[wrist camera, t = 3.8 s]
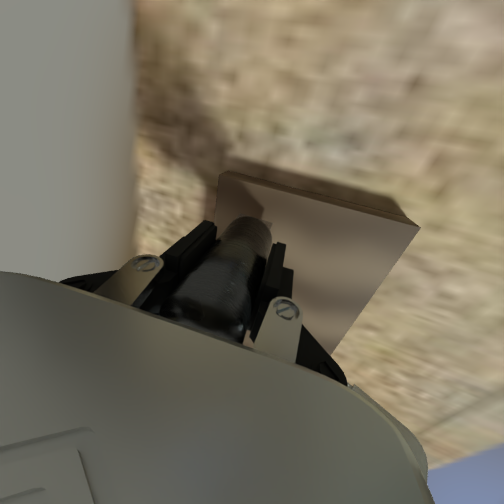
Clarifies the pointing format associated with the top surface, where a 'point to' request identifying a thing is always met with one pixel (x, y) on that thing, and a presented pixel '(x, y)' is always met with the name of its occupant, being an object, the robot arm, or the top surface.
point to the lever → (224, 281)
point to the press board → (320, 248)
